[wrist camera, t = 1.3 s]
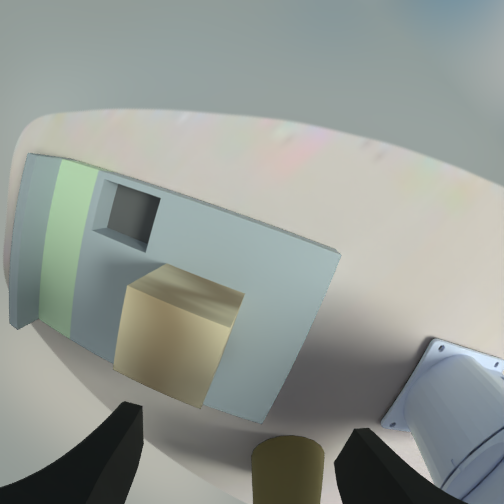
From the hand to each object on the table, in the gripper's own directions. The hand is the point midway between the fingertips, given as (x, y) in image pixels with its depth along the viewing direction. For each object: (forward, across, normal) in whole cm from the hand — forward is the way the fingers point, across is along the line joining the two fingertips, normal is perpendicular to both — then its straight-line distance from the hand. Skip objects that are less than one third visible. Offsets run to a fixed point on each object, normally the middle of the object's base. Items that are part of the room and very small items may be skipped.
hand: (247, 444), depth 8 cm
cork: (+9, -6, +12) cm, 16 cm away
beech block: (+9, +3, 0) cm, 9 cm away
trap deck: (+11, +5, -1) cm, 12 cm away
